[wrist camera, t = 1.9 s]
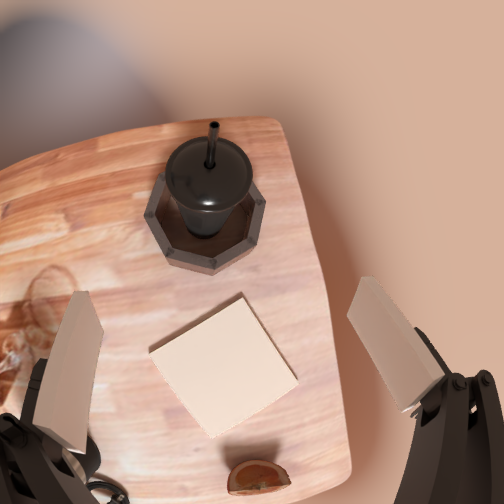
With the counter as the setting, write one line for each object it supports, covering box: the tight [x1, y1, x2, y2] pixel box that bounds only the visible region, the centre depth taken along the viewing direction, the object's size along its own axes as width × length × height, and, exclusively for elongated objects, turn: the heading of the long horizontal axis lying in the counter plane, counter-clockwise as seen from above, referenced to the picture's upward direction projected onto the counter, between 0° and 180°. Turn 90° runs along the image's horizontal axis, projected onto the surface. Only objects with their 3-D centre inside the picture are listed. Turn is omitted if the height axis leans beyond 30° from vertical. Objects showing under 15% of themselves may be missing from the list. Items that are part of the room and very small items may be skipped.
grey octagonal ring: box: [144, 171, 266, 276], centre depth 33 cm, size 13×13×5 cm
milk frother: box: [62, 436, 130, 504], centre depth 17 cm, size 14×16×15 cm
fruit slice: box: [227, 460, 291, 496], centre depth 26 cm, size 8×7×5 cm
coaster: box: [148, 297, 299, 439], centre depth 31 cm, size 14×14×1 cm
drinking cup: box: [165, 121, 253, 239], centre depth 26 cm, size 8×8×20 cm
